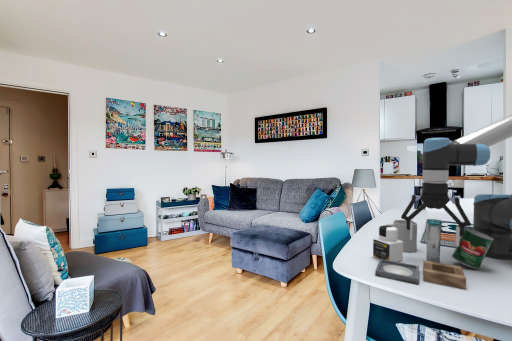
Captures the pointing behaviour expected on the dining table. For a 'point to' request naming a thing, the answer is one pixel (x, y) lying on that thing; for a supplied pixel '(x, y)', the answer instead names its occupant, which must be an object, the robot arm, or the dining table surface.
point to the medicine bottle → (388, 244)
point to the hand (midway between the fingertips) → (433, 242)
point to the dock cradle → (398, 271)
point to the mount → (444, 274)
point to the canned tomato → (472, 248)
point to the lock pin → (433, 240)
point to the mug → (406, 235)
